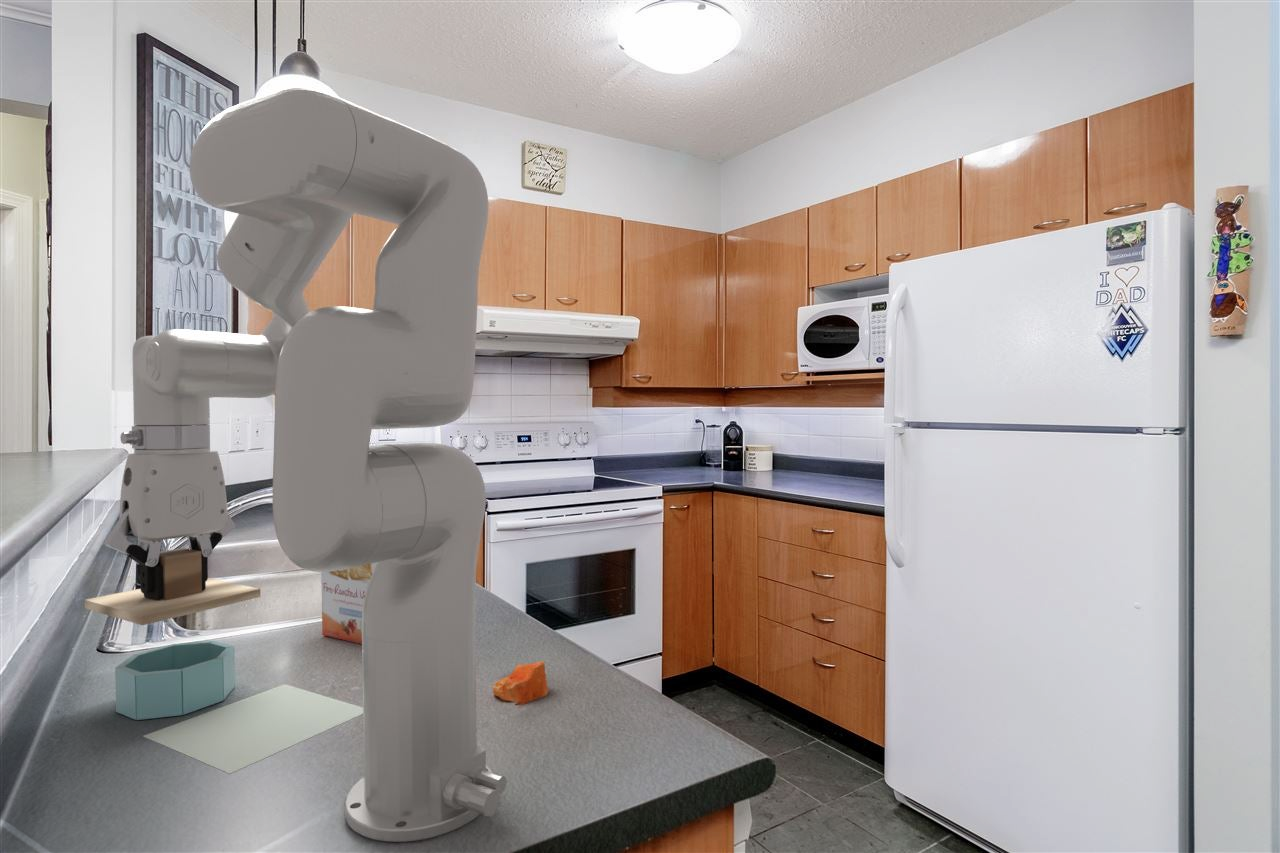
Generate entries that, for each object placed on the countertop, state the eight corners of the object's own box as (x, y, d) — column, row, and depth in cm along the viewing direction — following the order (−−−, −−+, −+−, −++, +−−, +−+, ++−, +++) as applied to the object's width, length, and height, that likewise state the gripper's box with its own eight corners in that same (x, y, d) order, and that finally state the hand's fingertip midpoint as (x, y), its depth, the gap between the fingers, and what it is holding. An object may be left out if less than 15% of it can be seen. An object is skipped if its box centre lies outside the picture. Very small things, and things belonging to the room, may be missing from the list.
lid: (260, 596, 85) (259, 548, 85) (142, 625, 74) (141, 569, 74) (201, 583, 92) (201, 538, 91) (84, 608, 80) (83, 556, 80)
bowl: (250, 694, 85) (249, 650, 85) (151, 730, 75) (150, 680, 75) (200, 678, 90) (200, 636, 90) (102, 710, 81) (101, 663, 81)
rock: (448, 710, 82) (447, 674, 82) (511, 675, 93) (511, 643, 93) (531, 729, 76) (531, 691, 76) (588, 689, 87) (587, 656, 87)
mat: (370, 713, 79) (370, 710, 79) (230, 777, 65) (230, 773, 65) (284, 687, 87) (284, 684, 87) (142, 739, 73) (142, 735, 73)
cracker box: (319, 637, 107) (317, 502, 106) (352, 626, 112) (350, 498, 112) (383, 651, 100) (381, 507, 100) (414, 639, 106) (413, 502, 105)
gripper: (106, 444, 73) (109, 616, 73) (260, 438, 88) (261, 582, 88) (73, 442, 77) (76, 606, 77) (226, 437, 91) (228, 575, 92)
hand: (175, 592), depth 83 cm, fingers closed on lid, 4 cm apart
